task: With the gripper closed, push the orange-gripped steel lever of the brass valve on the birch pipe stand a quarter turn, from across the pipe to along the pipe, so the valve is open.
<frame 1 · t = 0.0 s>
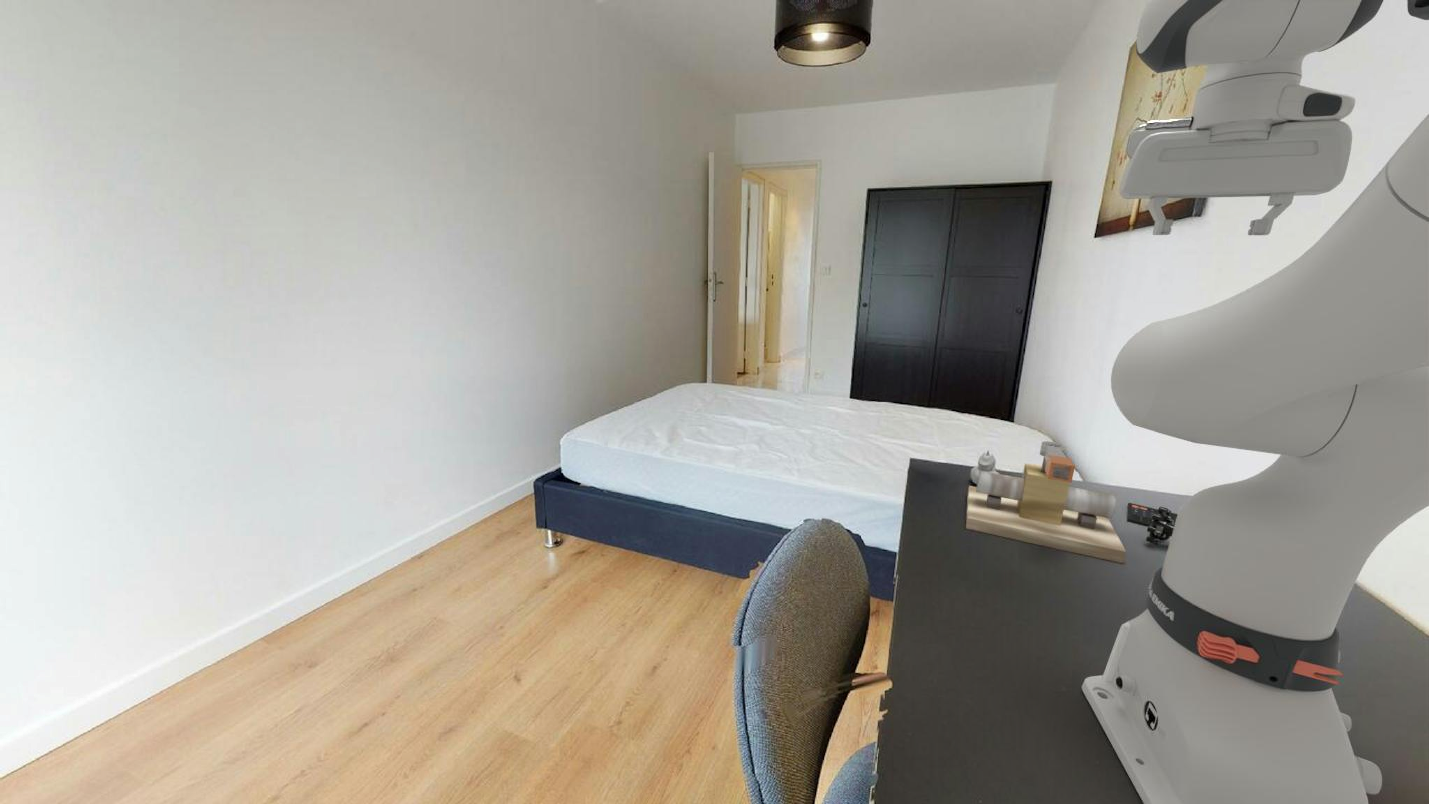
hand: (1208, 235, 65), 48 cm above the table, fingers open, 8 cm apart
valve lever: (1055, 459, 83), point 14 cm above the table, hinge at 0.0°
valve stand: (1035, 524, 91), on the table
calculator: (1167, 525, 94), on the table
valve: (1196, 560, 82), on the table
white meringue swirl: (983, 485, 108), on the table
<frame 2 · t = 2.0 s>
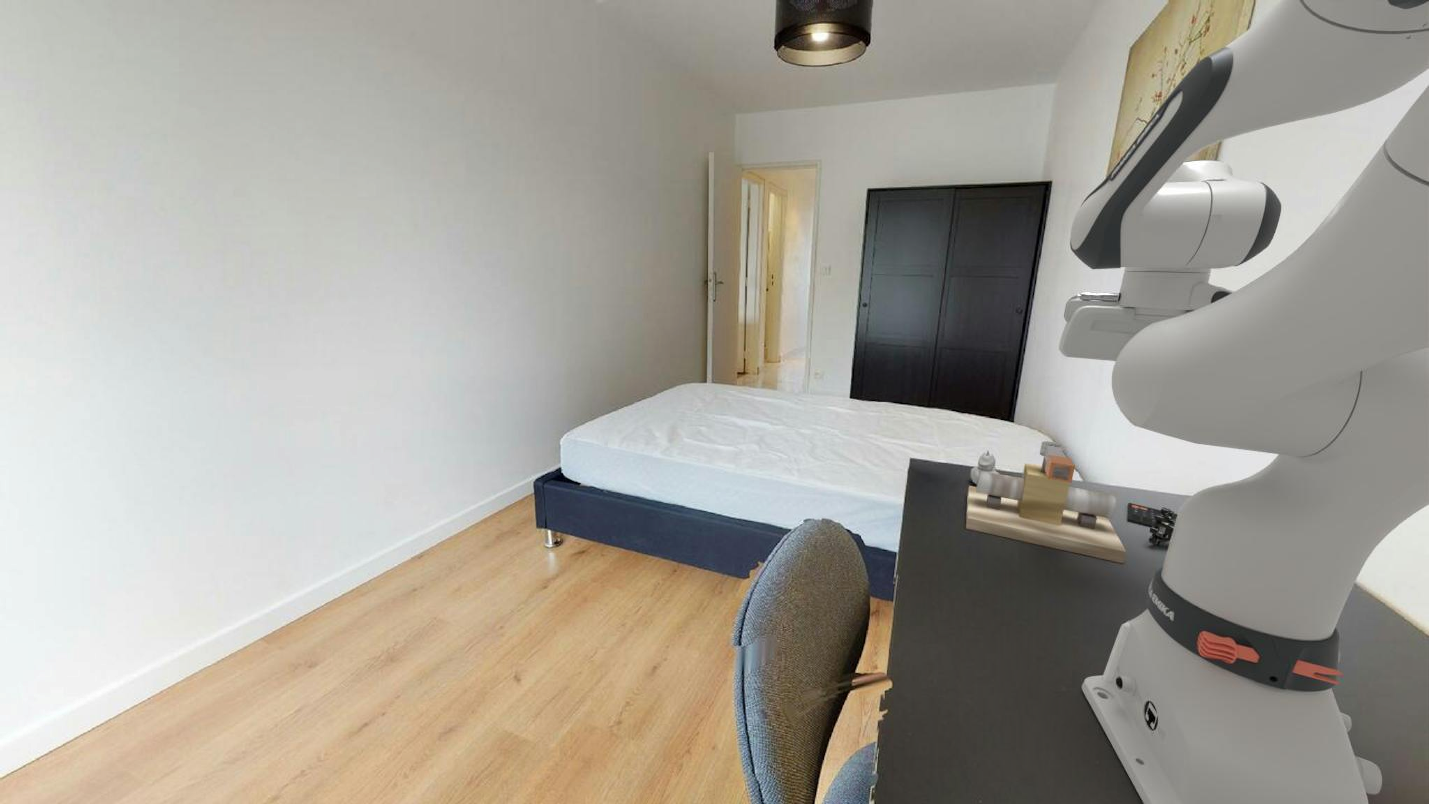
hand: (1135, 395, 73), 26 cm above the table, fingers closed
nothing on the table moved.
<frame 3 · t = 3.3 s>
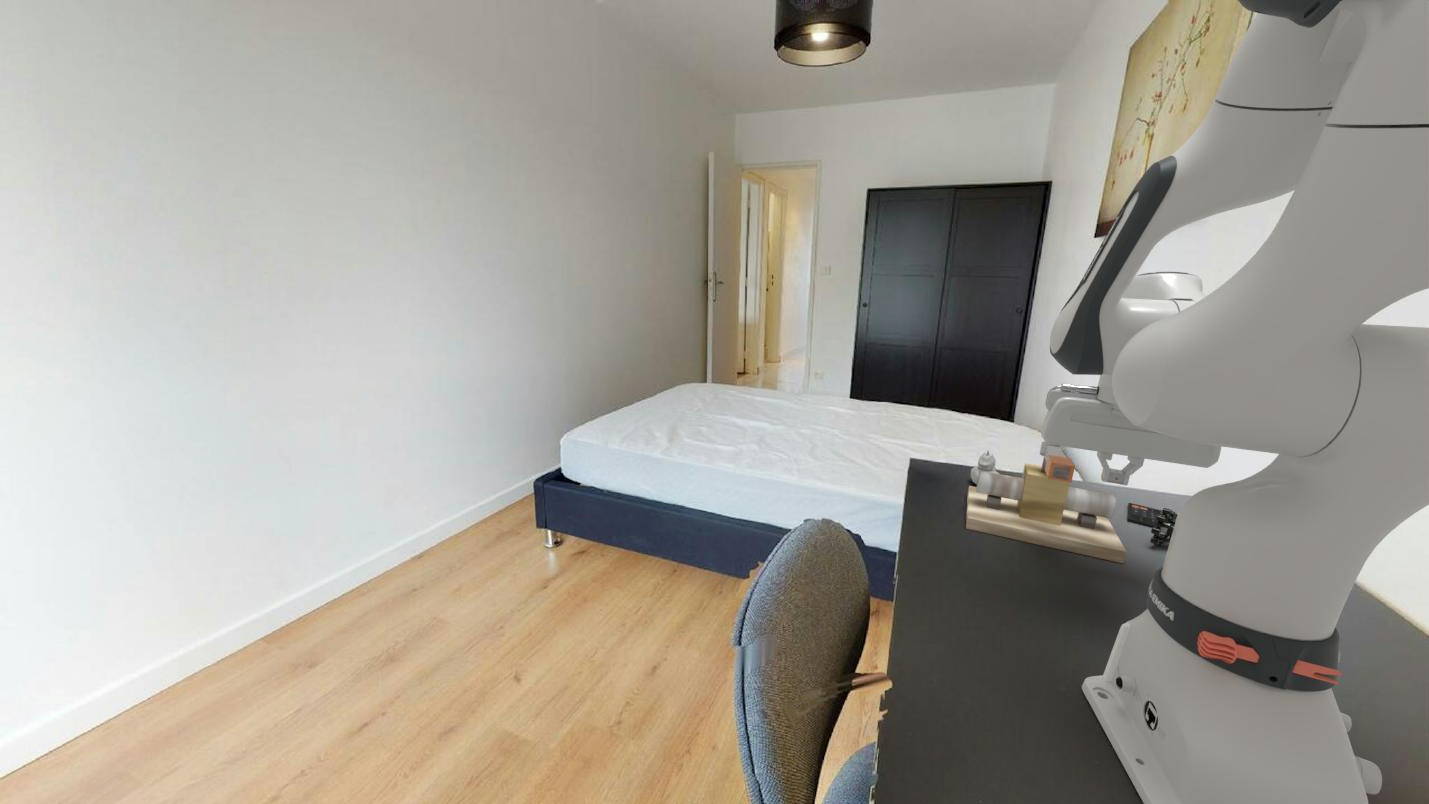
hand: (1113, 482, 76), 13 cm above the table, fingers closed
nothing on the table moved.
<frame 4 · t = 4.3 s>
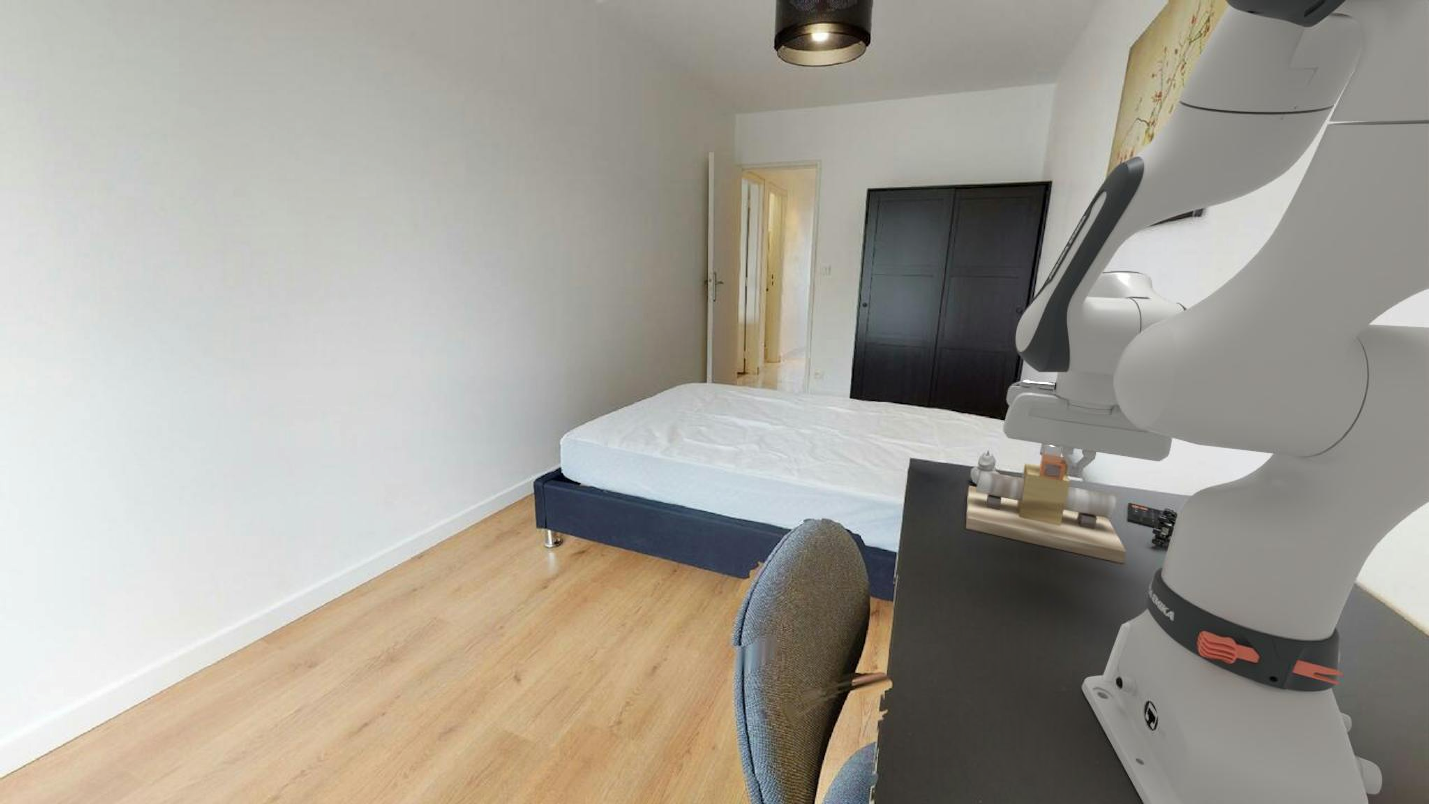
hand: (1071, 475, 78), 13 cm above the table, fingers closed
valve lever: (1051, 458, 83), point 14 cm above the table, hinge at 5.4°, touching gripper
everything else where it was.
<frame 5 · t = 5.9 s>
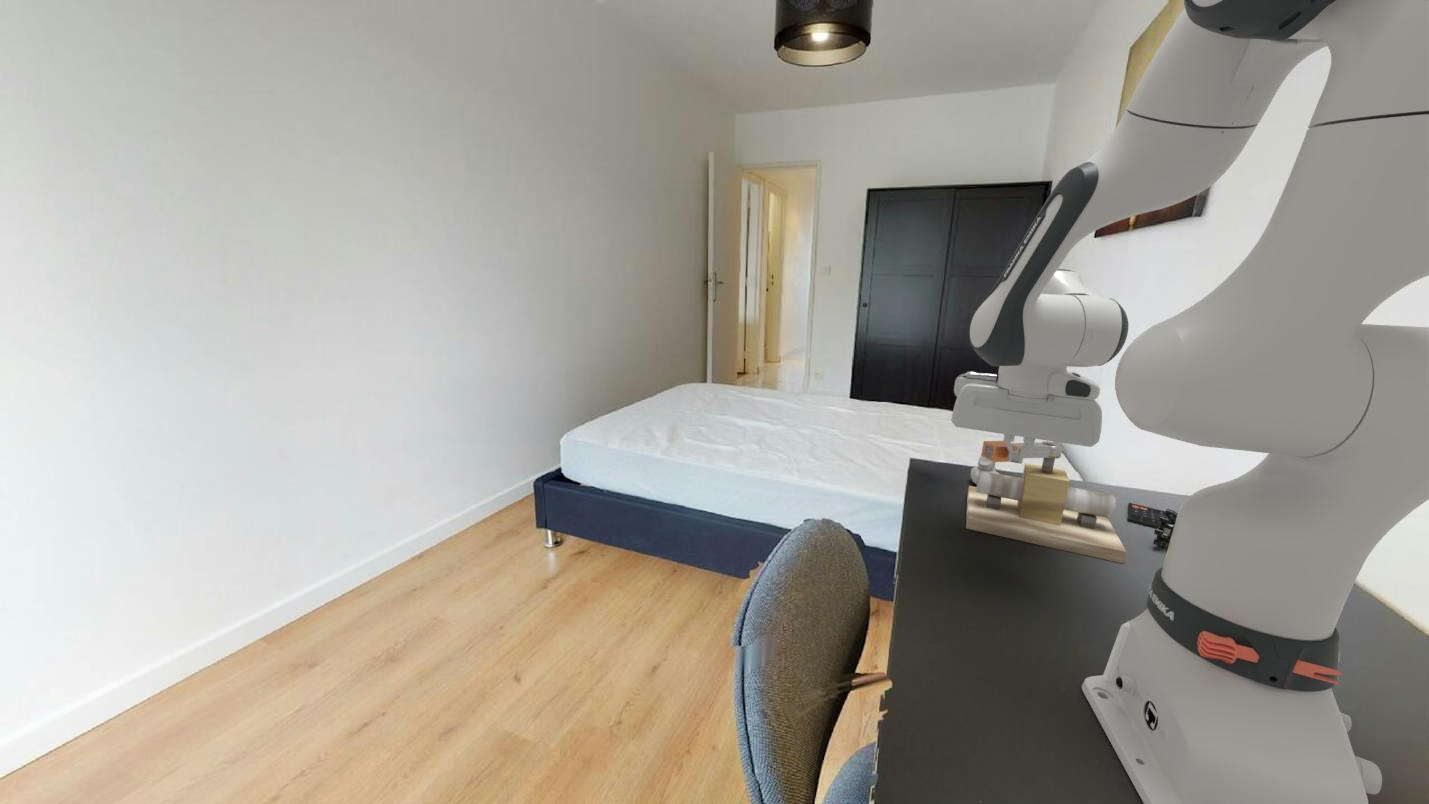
hand: (1014, 461, 83), 13 cm above the table, fingers closed
valve lever: (1024, 450, 86), point 14 cm above the table, hinge at 53.4°, touching gripper
everything else where it was.
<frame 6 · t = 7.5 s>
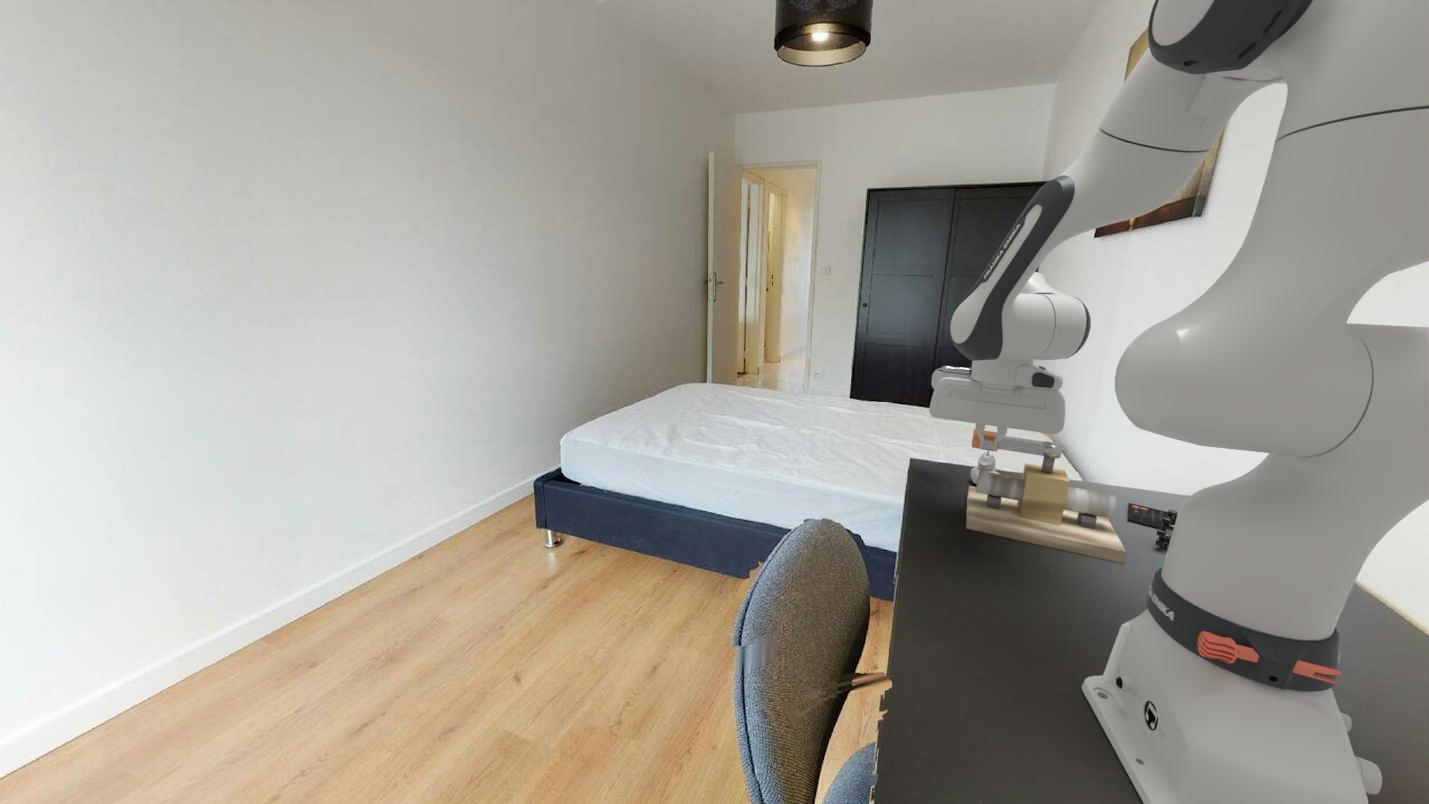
hand: (987, 449, 89), 13 cm above the table, fingers closed, pressing on valve lever
valve lever: (1015, 444, 90), point 14 cm above the table, hinge at 88.6°, touching gripper
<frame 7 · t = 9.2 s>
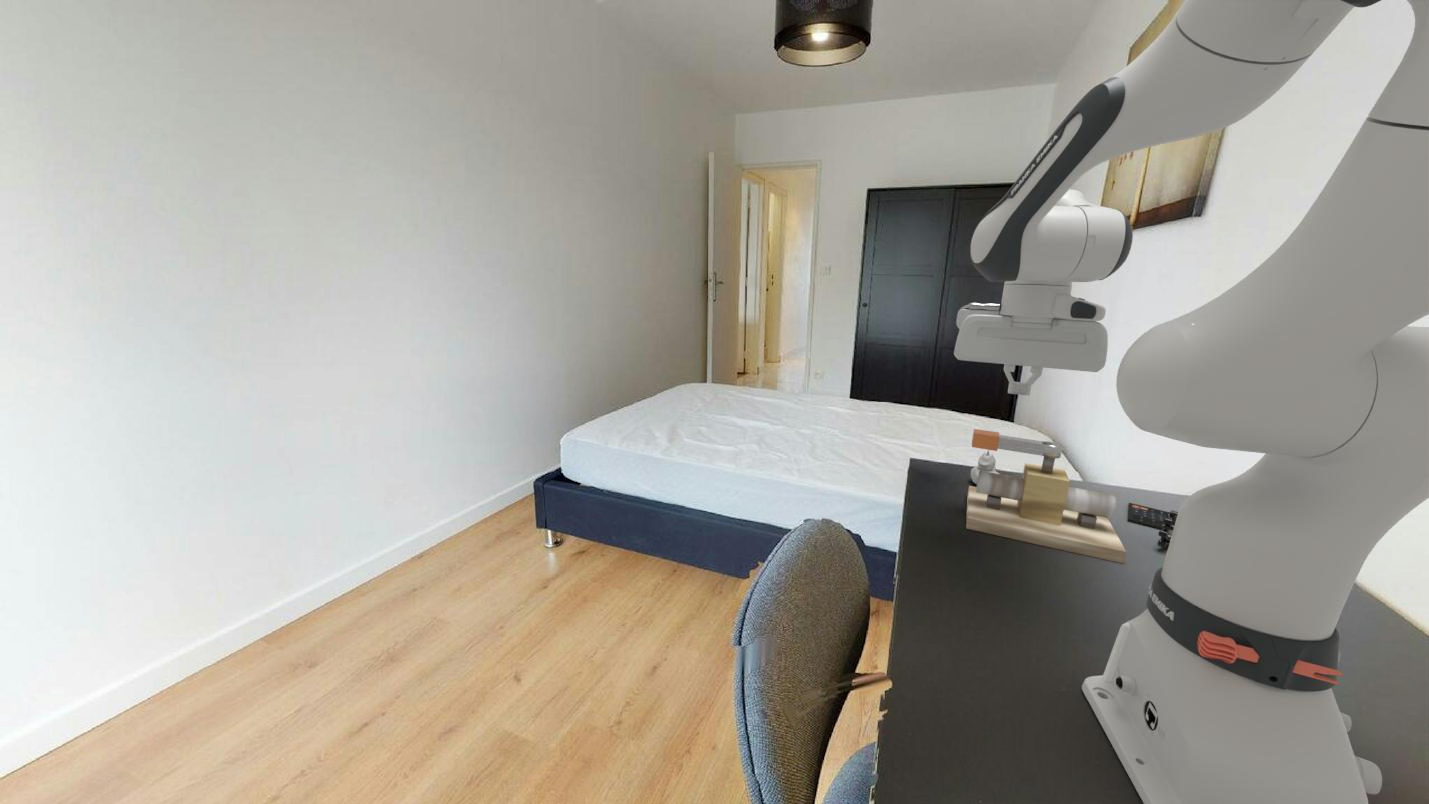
hand: (1018, 394, 82), 24 cm above the table, fingers closed
valve lever: (1015, 444, 90), point 14 cm above the table, hinge at 89.7°
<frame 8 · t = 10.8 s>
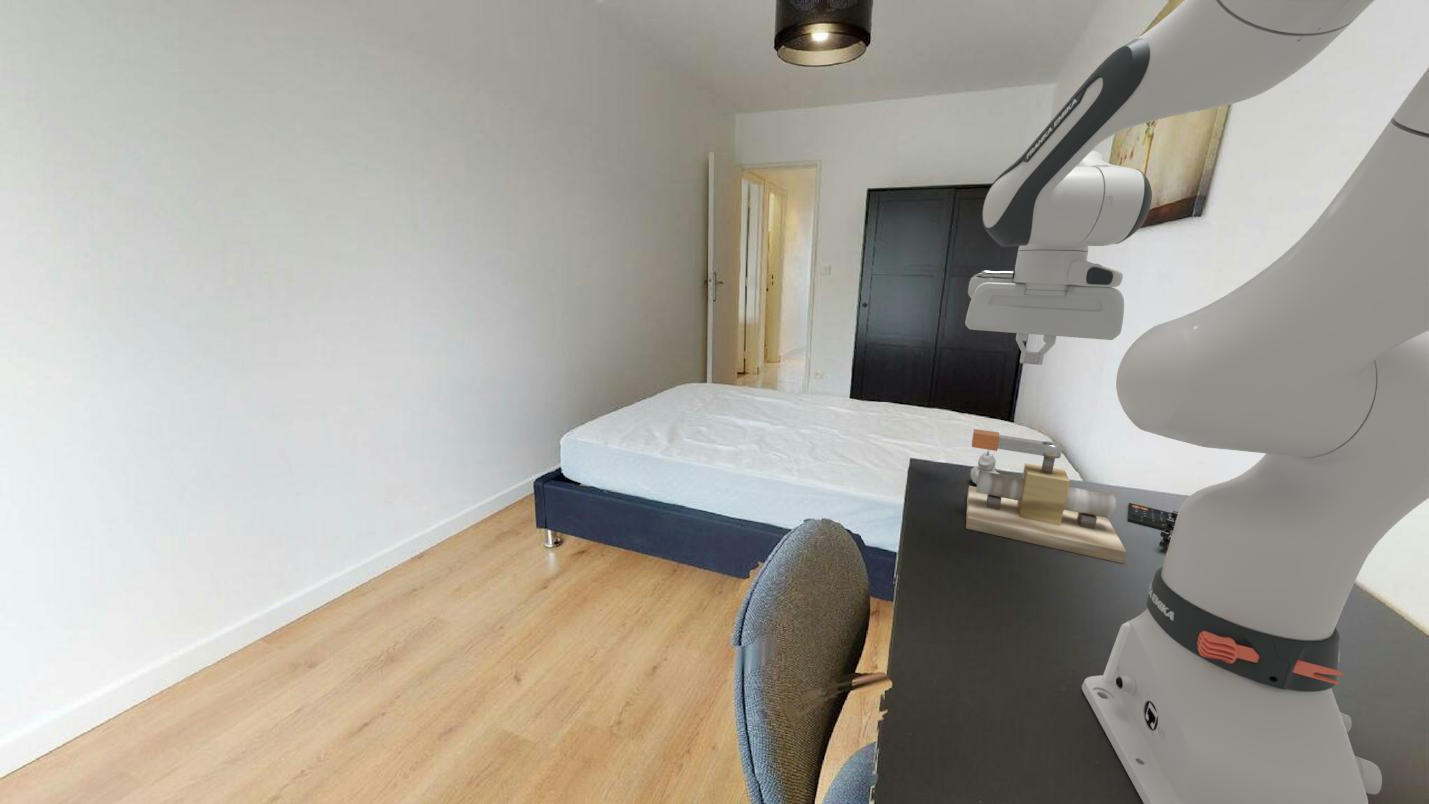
hand: (1030, 363, 80), 29 cm above the table, fingers closed
at the end: valve lever at +90° (first picture: +0°) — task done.
